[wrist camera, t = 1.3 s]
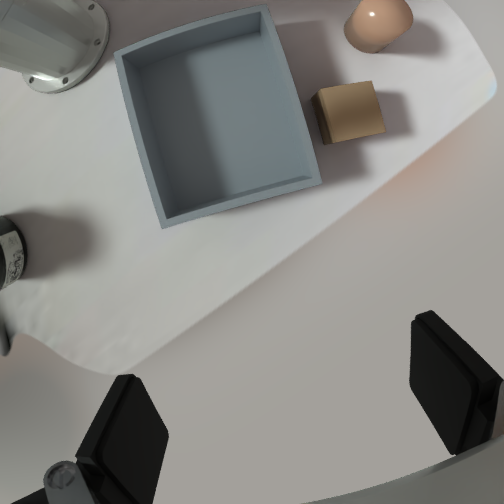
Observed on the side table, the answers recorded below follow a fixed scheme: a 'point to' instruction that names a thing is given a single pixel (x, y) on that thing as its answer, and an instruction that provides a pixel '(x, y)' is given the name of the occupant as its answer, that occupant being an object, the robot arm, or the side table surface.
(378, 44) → the peach domed capsule
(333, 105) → the walnut cube
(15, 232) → the ink bottle
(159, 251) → the side table surface
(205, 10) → the side table surface
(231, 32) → the tote
